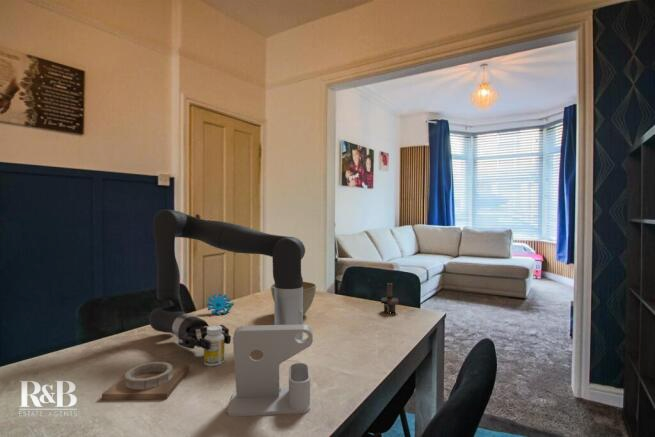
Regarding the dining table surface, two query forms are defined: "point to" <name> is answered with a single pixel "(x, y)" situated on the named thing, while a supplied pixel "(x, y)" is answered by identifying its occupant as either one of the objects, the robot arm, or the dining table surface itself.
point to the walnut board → (146, 393)
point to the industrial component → (389, 300)
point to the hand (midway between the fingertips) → (219, 342)
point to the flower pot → (307, 294)
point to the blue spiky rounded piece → (219, 304)
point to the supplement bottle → (214, 346)
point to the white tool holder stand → (269, 371)
